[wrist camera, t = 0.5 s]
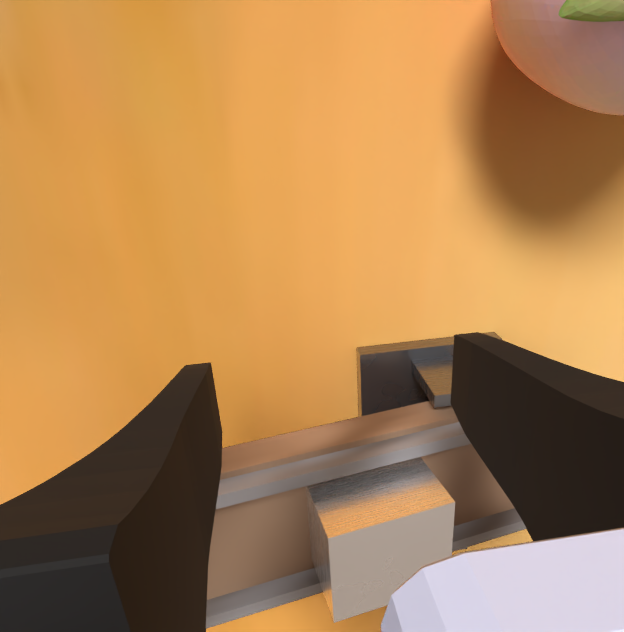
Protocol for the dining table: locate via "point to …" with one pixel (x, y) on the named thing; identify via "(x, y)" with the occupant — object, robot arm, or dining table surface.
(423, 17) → the dining table surface
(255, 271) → the dining table surface
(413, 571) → the block
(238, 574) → the beam
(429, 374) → the fulcrum stand
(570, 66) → the decorative fruit
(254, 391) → the dining table surface
